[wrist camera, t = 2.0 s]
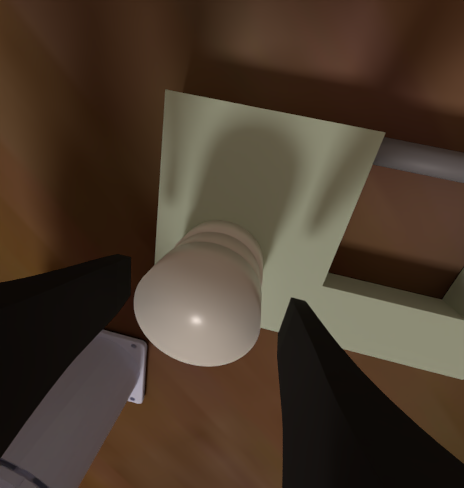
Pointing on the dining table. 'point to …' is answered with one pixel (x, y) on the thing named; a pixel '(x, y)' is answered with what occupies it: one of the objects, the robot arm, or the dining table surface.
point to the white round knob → (204, 296)
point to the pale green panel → (305, 219)
